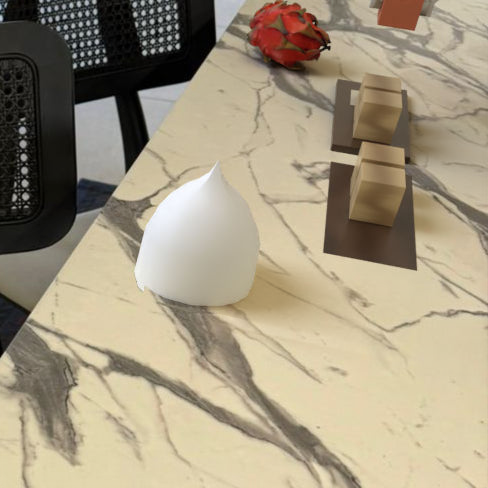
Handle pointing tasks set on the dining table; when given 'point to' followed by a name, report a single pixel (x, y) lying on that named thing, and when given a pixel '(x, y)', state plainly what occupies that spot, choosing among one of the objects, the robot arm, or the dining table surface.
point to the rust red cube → (400, 13)
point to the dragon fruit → (287, 34)
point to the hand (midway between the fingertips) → (398, 11)
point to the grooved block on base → (372, 209)
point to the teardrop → (200, 245)
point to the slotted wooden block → (370, 114)
